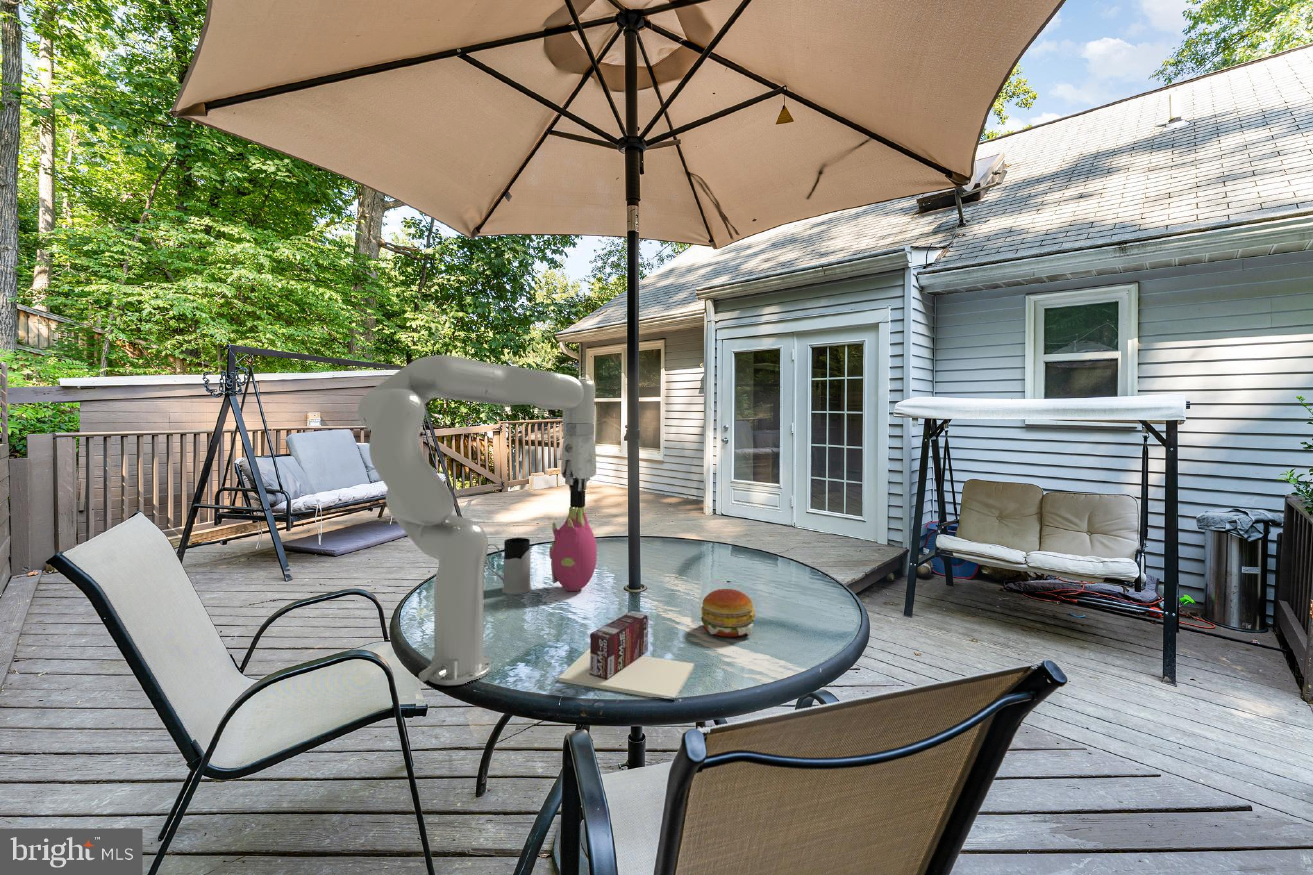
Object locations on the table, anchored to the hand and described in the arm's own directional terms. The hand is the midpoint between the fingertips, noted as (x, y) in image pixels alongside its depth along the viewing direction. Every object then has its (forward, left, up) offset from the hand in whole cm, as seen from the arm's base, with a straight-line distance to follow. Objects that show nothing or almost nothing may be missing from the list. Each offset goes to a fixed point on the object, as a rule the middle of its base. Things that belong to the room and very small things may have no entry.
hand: (577, 506), depth 136 cm
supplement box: (-6, -19, -26) cm, 32 cm away
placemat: (-17, -20, -31) cm, 40 cm away
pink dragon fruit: (+30, +15, -31) cm, 46 cm away
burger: (+14, -35, -31) cm, 49 cm away
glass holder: (+24, +34, -31) cm, 52 cm away
